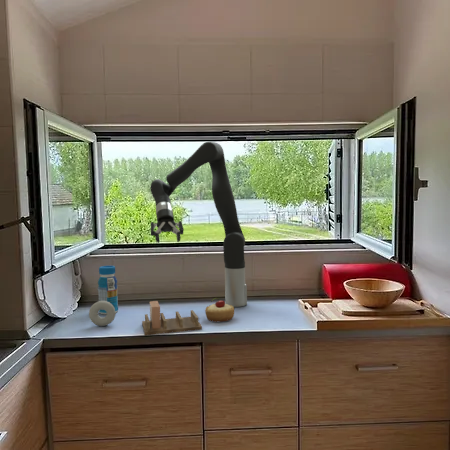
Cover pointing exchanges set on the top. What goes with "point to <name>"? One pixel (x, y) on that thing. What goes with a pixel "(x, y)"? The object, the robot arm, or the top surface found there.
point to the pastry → (219, 311)
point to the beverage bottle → (108, 287)
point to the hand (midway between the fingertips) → (168, 241)
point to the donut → (102, 320)
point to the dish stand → (172, 324)
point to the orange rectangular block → (155, 314)
